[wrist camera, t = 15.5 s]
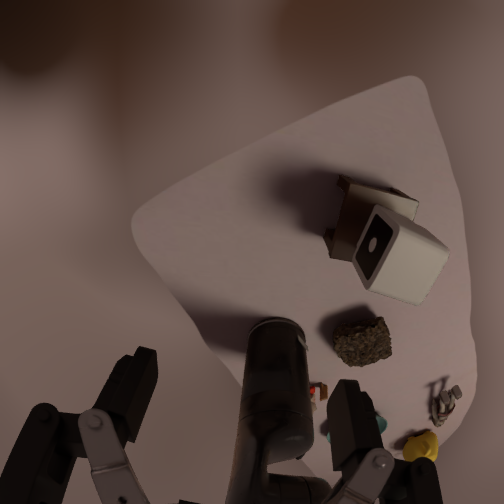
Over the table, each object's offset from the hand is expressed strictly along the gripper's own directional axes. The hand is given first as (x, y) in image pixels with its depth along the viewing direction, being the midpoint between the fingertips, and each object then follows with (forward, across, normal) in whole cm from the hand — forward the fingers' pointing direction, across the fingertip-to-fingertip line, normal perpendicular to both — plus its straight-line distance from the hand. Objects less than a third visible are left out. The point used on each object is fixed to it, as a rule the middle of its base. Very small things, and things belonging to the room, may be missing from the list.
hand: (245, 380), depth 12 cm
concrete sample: (+28, -20, +19) cm, 40 cm away
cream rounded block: (+22, -14, -1) cm, 26 cm away
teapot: (+28, -58, +59) cm, 87 cm away
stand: (+28, -13, -1) cm, 31 cm away
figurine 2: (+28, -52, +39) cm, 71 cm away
